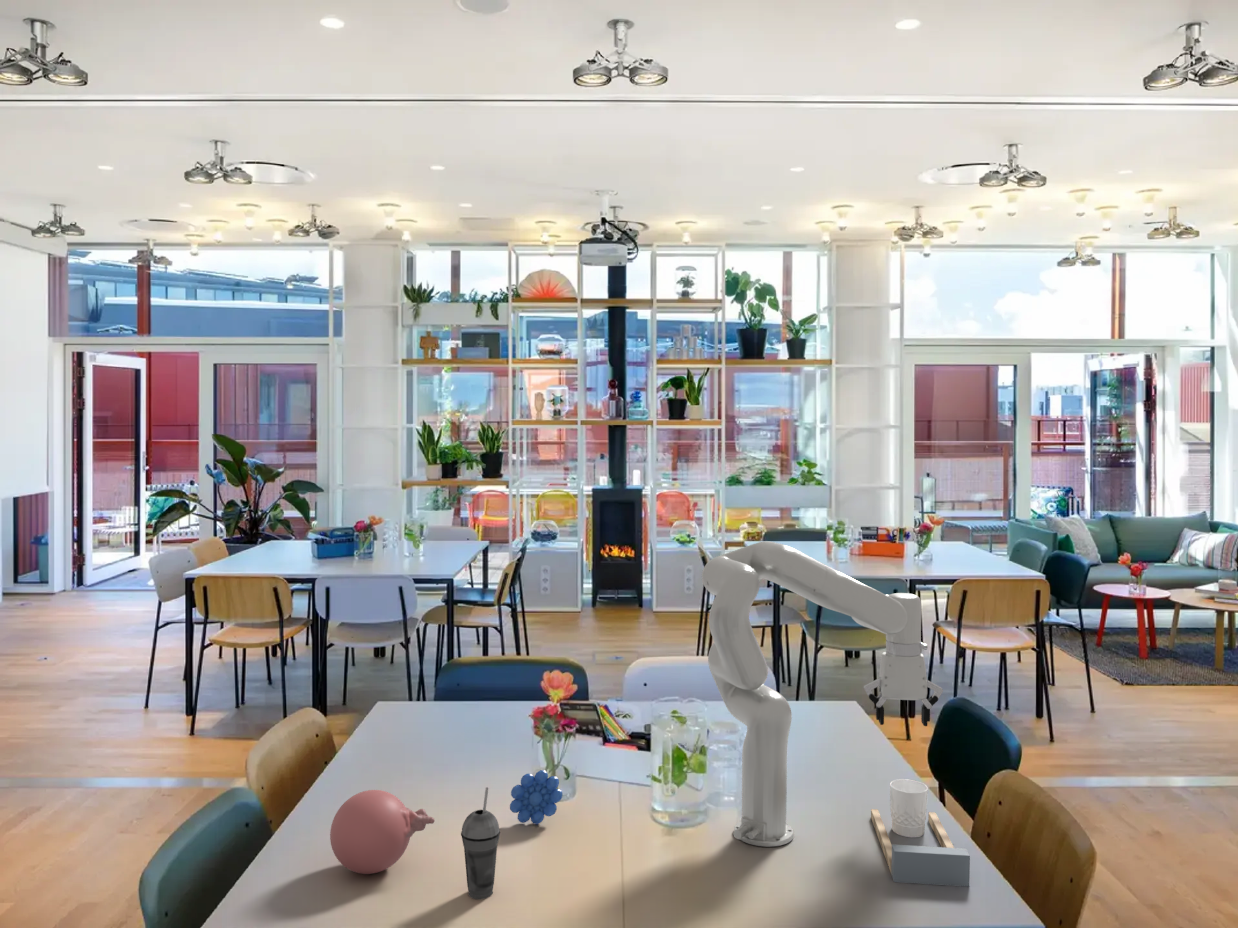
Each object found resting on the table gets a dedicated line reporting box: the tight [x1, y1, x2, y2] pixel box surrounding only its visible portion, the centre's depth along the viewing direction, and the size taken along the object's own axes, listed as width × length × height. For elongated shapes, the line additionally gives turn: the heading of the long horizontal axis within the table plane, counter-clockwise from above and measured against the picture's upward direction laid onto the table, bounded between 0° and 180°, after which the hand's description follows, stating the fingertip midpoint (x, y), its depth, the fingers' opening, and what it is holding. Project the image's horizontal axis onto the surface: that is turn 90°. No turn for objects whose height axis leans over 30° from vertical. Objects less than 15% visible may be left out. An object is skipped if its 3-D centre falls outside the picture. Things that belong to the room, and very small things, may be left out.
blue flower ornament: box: [509, 769, 564, 825], centre depth 206 cm, size 12×7×12 cm, turn 89°
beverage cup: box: [460, 787, 501, 900], centre depth 174 cm, size 7×7×20 cm
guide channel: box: [870, 808, 955, 873], centre depth 195 cm, size 27×14×2 cm, turn 173°
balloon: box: [329, 789, 435, 875], centre depth 183 cm, size 15×20×15 cm
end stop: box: [890, 843, 971, 887], centre depth 180 cm, size 3×14×6 cm, turn 83°
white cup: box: [889, 778, 929, 838], centre depth 202 cm, size 8×8×10 cm
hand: (902, 723), depth 210 cm, fingers open, 9 cm apart
